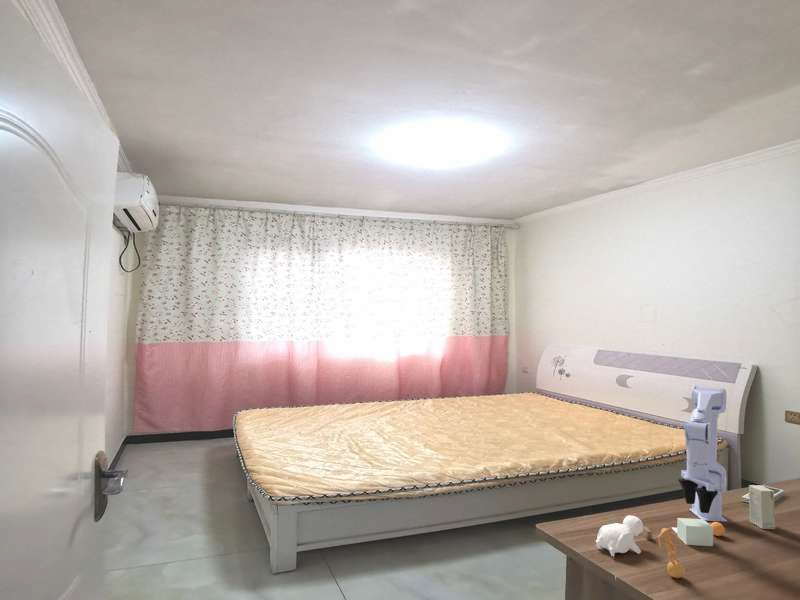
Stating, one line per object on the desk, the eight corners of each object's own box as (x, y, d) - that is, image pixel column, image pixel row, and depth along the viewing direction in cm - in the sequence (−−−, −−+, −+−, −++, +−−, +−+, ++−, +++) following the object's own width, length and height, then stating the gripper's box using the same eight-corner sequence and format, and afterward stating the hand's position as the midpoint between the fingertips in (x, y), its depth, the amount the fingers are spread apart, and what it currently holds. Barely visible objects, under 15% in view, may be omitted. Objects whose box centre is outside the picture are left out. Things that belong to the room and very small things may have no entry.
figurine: (672, 584, 127) (672, 536, 128) (651, 573, 133) (651, 527, 133) (693, 577, 131) (693, 530, 131) (672, 566, 136) (672, 522, 137)
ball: (707, 532, 159) (707, 519, 159) (720, 533, 158) (720, 520, 158) (713, 538, 155) (713, 524, 155) (727, 538, 154) (727, 525, 154)
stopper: (632, 523, 165) (632, 516, 165) (636, 523, 164) (636, 516, 165) (647, 539, 153) (647, 531, 153) (651, 540, 153) (651, 532, 153)
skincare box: (775, 529, 161) (775, 491, 162) (761, 529, 161) (761, 491, 162) (761, 521, 168) (761, 484, 168) (748, 521, 168) (748, 484, 168)
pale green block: (677, 536, 156) (677, 517, 156) (703, 537, 155) (703, 519, 155) (686, 544, 150) (686, 525, 150) (713, 546, 149) (712, 527, 149)
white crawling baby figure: (620, 570, 140) (655, 541, 146) (612, 543, 139) (647, 515, 145) (597, 556, 148) (630, 529, 154) (589, 531, 147) (623, 505, 153)
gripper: (671, 455, 160) (671, 499, 159) (697, 468, 145) (697, 516, 145) (694, 456, 160) (693, 500, 159) (722, 469, 145) (722, 517, 144)
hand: (697, 508), depth 152 cm, fingers open, 7 cm apart
